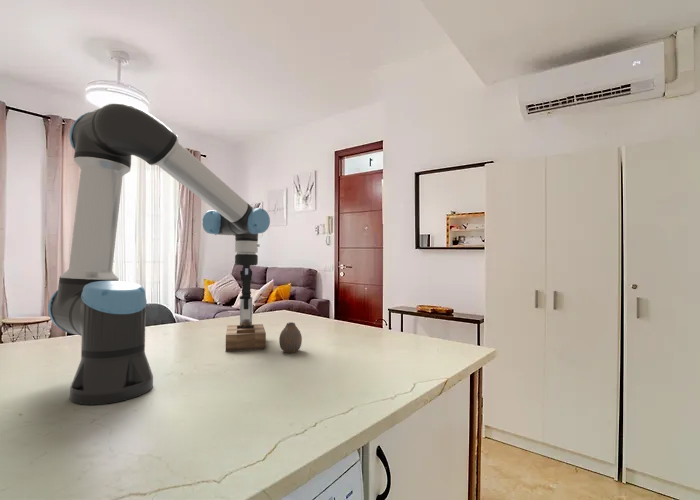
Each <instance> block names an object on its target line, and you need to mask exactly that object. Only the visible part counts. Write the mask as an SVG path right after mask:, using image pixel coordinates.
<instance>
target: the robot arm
mask: <svg viewBox="0 0 700 500" xmlns="http://www.w3.org/2000/svg"><path fill="white" fill-rule="evenodd" d="M68 136H69V142H70V145H71V147H72V148H73V150H74V155H73V161H74V163H75V164H76V165H77V166H78V167H79V169H80V173H79V179H78V190H77V195H76V196H77V199H76V205H75V213H74V223H73V232H72V240H71V249H70V255H69V256H70V257H69V264H68V268H67V270H66V271H64V272H63V273H62V274H61V275H59V278H58V279H59V280H58V286H57V287H58V288H57V290H56V291H55V292H54V293H53V294H52V296H51V297H50V300H49V301H48V305H47V313H48V316H49V318H50V321H51V322H52V323H53V324H54V325H55V326H56V327H57V328H59V329H61V330H62V331H64V332H66V333H67V334H70V335H71V334H72V335H74V336H75V335H76V336H81V342H80V343H81V344H80V346H81V352H80V354H81V355H80V361H79V364H78V367H77V370H76V373H75V375H74V377H73V380H72V382H71V385H70V388H69V400H70V401H71V402H72V403H75V404H79V405H89V406H90V405H105V404H112V403H118V402H123V401H127V400H130V399H133V398H136V397H140V396H142V395H143V394H146V393H148V392H149V391H150V390H152V388H153V386H154V374H153V372H152V369H151V366H150V363H149V361H148V357H147V354H146V352H145V350H146V349H145V347H146V317H147V316H146V313H147V312H146V309H147V308H146V307H147V296H146V289H145V287H143V285H141V284H139V283H136V282H131V281H123V280H122V281H121V280H119V277H118V276H117V275H116V274H115V273H114V272H113V265H114V257H115V256H114V255H115V248H116V238H117V232H118V231H117V229H118V221H119V211H120V203H121V194H122V186H123V185H122V184H123V177H124V176H125V175H127V174H128V173H130V172H131V168H132V167H131V166H132V158H133V156H135V157H137V158H139V159H141V160H142V161H145V162H146V163H147V164H149V166H158V167H159V168H160V169H162V170H163V171H165V173H166V174H168V175H169V176H171V177H172V178H173V179H175V180H176V181H177V182H178V183H180V184H181V185H182V186H184V188H186V189H188V191H190V193H192V194H194V195H195V196H196V197H198V198H199V199H200V200H201V201H203V203H206V204H207V205H208V206H209V207H211V208H212V209H210V210H208V211H206V212H205V213H204V214H203V217H202V227H203V230H204V232H205V233H207V234H209V235H215V236H217V235H220V236H235V237H234V239H235V240H234V252H235V253H236V254H235V255H234V265H235V266H242V267H241V270H240V271H239V276H240V283H241V295H240V296H239V300H240V299H242V313H241V319H250V298H251V297H252V296H251V295H252V291H251V283H252V280H253V279H252V276H253V270H252V269H251V266H257V265H258V263H259V262H258V260H259V255H258V254H257V253H258V248H260V244H259V243H258V241H259V234H263V233H265V232H267V230H268V229H269V228H270V227H269V226H270V223H271V219H270V216H269V212H268V211H266V210H265V209H264V208H259V207H253V206H252V205H251V204H249V203H248V202H247V201H246V200H245V199H243V198H242V197H241V195H239V194H238V193H236V192H235V191H234V190H233V189H232V188H231V187H230V186H228V185H227V184H226V183H225V182H224V181H223V180H222V179H221V178H219V177H218V176H217V175H216V174H215V173H214V172H213V171H211V169H209V168H208V167H207V166H206V165H205V164H203V162H201V161H200V160H199V159H198V158H197V157H196V156H194V155H193V154H192V152H190V151H189V150H187V148H186V147H184V146H183V145H182V144H181V143H180V142H179V136H178V135H177V134H176V133H174V131H172V129H170V128H169V127H168V126H167V125H166V124H165V123H163V122H162V121H160V120H159V119H158V118H156V117H155V116H154V115H152V114H151V113H149V112H147V111H145V110H144V109H142V108H140V107H138V106H136V105H133V104H130V103H126V102H111V103H108V104H106V105H103V106H101V107H100V108H97V109H95V110H93V111H88V112H85V113H84V114H82V115H80V116H79V117H78V118H77V119H76V120H75V121H74V122H73V123H72V125H71V127H70V131H69V135H68Z"/></svg>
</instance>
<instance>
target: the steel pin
mask: <svg viewBox="0 0 700 500" xmlns="http://www.w3.org/2000/svg"><path fill="white" fill-rule="evenodd" d="M239 301H240V302H239V325H240V329H245V328H252V324H253V296H251V298H250V319H241V313H242V299H240V298H239Z"/></svg>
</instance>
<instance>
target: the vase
mask: <svg viewBox="0 0 700 500" xmlns="http://www.w3.org/2000/svg"><path fill="white" fill-rule="evenodd" d="M278 341H279V347H280V349H281V350H282V351H283V352H284V353H285V354H294V353H295V354H296V353H297V352H298V351H299V350H300V348H301V347H302V343H303V336H302V333H301V330H300V329H299V328H298V326H297V325H296V323H295V322H291V321H290V322H286V325H285V327H283V329H282V330H281V332H280V335H279V339H278Z"/></svg>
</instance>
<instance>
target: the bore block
mask: <svg viewBox="0 0 700 500" xmlns="http://www.w3.org/2000/svg"><path fill="white" fill-rule="evenodd" d="M265 329H266V328H265V326H264V323H258V324H253V323H252V328H245V329H240V324H230V325H226V332H225V352H237V351H238V352H239V351H255V350H266V349H267V347H266V345H267V341H266V339H267V338H266V337H267V335H266V334H267V333H266V330H265Z"/></svg>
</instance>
